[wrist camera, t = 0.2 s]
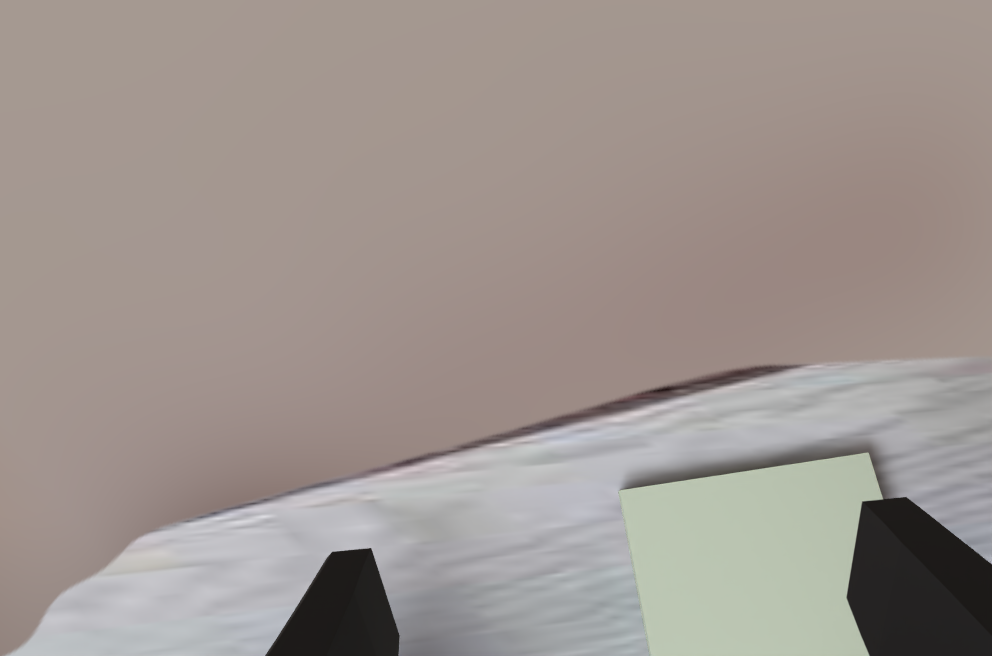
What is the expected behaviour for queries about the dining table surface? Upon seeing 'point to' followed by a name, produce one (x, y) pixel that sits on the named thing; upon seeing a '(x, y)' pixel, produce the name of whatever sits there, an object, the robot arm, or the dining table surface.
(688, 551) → the board
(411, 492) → the dining table surface
